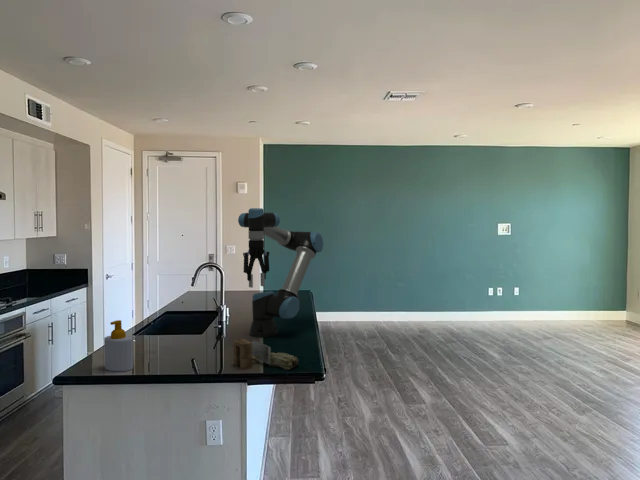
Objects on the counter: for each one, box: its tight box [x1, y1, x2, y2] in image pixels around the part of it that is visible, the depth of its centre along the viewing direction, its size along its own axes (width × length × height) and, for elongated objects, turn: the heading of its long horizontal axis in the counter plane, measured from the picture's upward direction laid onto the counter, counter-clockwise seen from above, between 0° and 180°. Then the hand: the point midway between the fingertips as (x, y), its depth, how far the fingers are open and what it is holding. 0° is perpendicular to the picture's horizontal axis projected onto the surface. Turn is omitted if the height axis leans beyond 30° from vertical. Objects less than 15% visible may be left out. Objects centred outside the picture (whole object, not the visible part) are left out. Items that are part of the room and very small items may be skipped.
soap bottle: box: [103, 319, 134, 372], centre depth 192 cm, size 13×8×20 cm, turn 69°
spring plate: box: [239, 340, 272, 365], centre depth 196 cm, size 10×14×7 cm
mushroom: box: [268, 351, 299, 371], centre depth 195 cm, size 14×10×5 cm, turn 54°
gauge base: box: [233, 338, 256, 370], centre depth 199 cm, size 12×12×10 cm
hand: (256, 286), depth 224 cm, fingers open, 6 cm apart
